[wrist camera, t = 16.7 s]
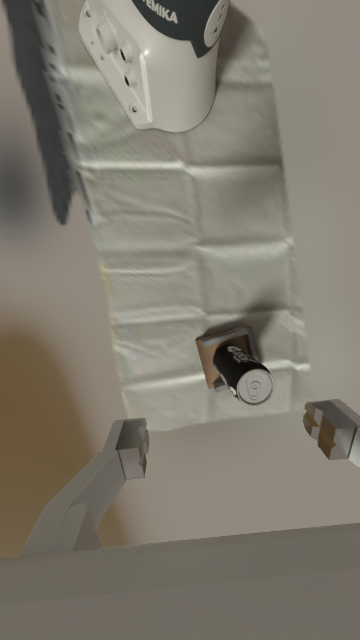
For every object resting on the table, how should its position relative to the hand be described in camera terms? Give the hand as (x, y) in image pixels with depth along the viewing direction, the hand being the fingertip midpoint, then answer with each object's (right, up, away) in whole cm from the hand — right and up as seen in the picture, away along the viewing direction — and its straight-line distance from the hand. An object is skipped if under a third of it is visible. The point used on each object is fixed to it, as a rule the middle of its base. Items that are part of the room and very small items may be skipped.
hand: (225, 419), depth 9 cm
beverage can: (+8, -3, +29) cm, 30 cm away
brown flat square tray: (+8, -3, +30) cm, 31 cm away
